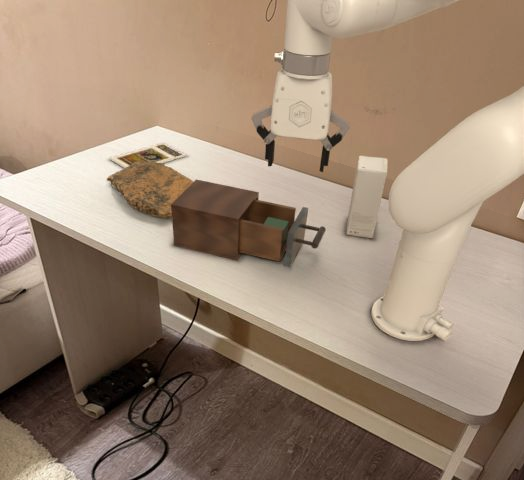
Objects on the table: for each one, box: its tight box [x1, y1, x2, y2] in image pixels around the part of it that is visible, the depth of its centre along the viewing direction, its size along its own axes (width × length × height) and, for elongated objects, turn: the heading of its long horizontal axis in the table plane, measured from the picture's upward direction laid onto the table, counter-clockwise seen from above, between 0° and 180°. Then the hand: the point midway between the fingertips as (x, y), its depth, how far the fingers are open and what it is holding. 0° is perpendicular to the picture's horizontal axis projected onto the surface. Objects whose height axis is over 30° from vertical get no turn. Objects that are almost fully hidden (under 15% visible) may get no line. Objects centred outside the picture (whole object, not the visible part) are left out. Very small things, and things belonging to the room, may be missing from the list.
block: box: [264, 217, 289, 250], centre depth 102 cm, size 5×5×5 cm
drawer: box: [239, 199, 327, 268], centre depth 102 cm, size 18×11×8 cm, turn 72°
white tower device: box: [345, 155, 389, 239], centre depth 109 cm, size 8×7×16 cm
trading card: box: [109, 142, 187, 169], centre depth 136 cm, size 11×1×18 cm
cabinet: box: [171, 179, 260, 261], centre depth 104 cm, size 15×13×10 cm
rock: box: [106, 161, 194, 219], centre depth 118 cm, size 25×6×20 cm
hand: (296, 166), depth 91 cm, fingers open, 9 cm apart
